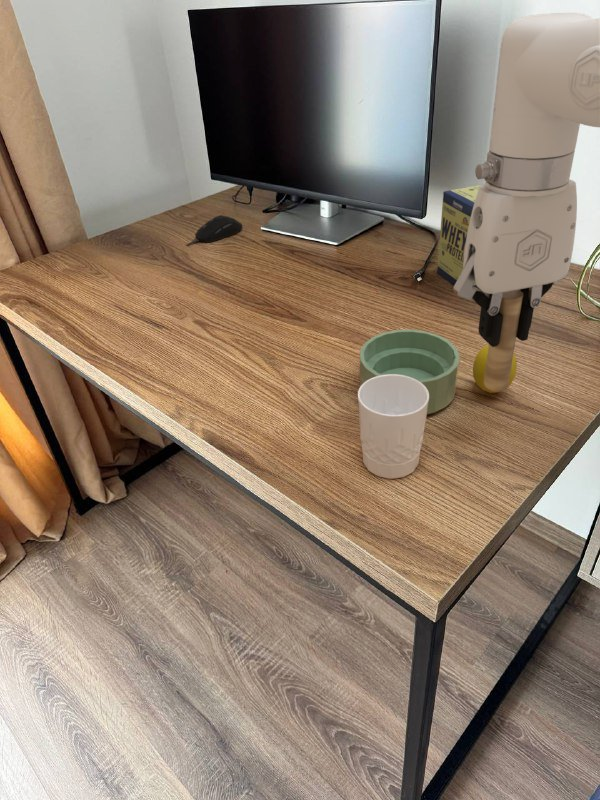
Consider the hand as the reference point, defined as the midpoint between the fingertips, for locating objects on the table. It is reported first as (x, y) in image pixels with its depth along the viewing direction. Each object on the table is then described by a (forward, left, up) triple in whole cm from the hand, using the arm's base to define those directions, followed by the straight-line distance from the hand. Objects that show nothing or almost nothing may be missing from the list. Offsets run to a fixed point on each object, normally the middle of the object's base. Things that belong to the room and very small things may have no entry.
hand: (503, 336), depth 66 cm
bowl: (+6, -11, -14) cm, 19 cm away
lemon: (-4, -7, -14) cm, 16 cm away
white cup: (+14, +1, -14) cm, 20 cm away
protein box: (-22, -40, -14) cm, 48 cm away
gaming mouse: (+24, -81, -14) cm, 86 cm away
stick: (0, 0, -7) cm, 7 cm away
